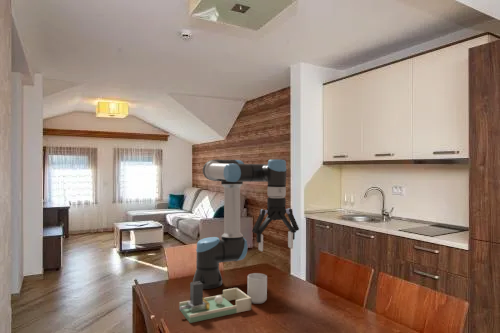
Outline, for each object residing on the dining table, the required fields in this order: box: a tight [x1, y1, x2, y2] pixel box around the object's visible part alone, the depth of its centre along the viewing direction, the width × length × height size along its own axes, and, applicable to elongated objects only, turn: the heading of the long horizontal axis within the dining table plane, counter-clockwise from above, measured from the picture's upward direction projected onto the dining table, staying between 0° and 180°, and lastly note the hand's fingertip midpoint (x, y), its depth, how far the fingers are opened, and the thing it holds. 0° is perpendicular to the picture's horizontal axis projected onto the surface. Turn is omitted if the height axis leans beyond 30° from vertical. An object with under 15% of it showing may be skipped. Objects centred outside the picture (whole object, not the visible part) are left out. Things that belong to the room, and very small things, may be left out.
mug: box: [246, 272, 268, 305], centre depth 154 cm, size 12×9×11 cm
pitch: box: [178, 287, 252, 324], centre depth 142 cm, size 14×27×5 cm, turn 118°
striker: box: [178, 281, 210, 312], centre depth 137 cm, size 8×11×10 cm
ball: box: [215, 295, 223, 305], centre depth 143 cm, size 4×4×4 cm
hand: (275, 249), depth 137 cm, fingers open, 13 cm apart
